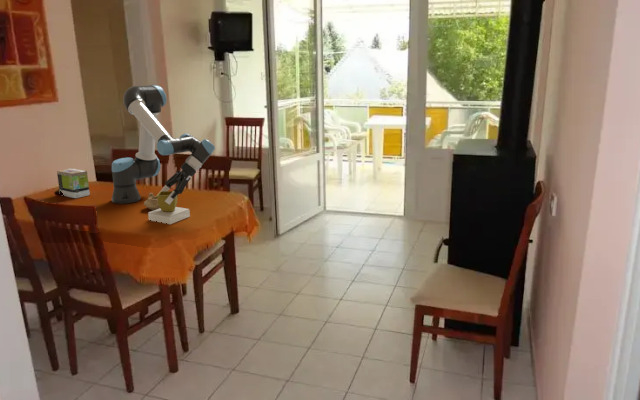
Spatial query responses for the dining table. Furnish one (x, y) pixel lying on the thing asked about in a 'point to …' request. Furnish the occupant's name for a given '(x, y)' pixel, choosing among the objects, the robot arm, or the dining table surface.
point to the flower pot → (162, 204)
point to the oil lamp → (152, 202)
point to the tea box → (73, 183)
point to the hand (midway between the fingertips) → (163, 199)
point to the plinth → (169, 215)
